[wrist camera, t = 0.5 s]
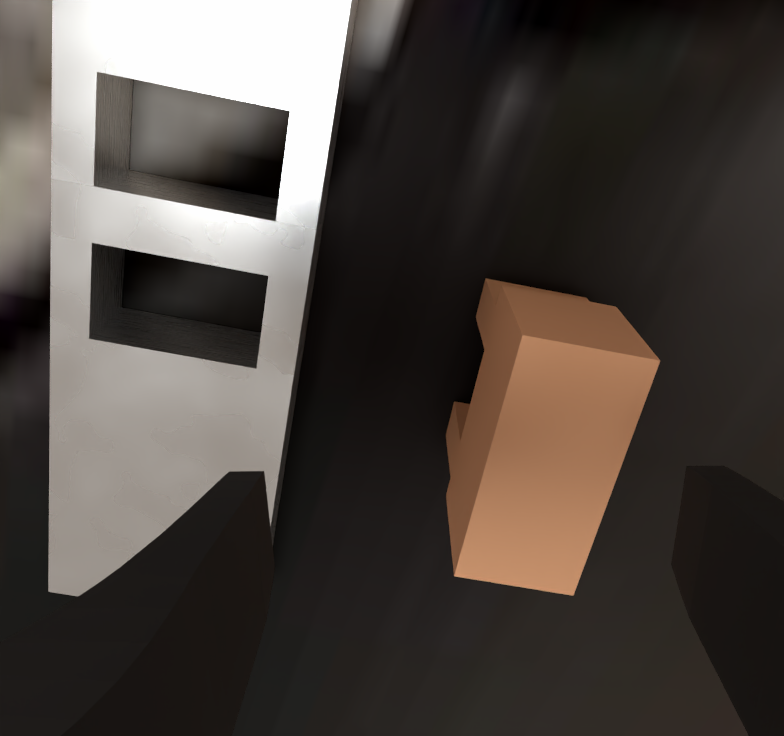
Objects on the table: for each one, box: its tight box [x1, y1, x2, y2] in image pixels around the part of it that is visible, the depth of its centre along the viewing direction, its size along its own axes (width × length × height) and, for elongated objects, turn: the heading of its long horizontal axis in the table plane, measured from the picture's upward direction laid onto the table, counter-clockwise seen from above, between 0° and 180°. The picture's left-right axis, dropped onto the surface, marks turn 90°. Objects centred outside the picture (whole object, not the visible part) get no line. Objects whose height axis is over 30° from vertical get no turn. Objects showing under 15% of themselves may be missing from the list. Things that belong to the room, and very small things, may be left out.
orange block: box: [446, 278, 660, 596], centre depth 20 cm, size 3×6×6 cm, turn 169°
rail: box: [49, 0, 358, 596], centre depth 19 cm, size 6×24×2 cm, turn 169°
